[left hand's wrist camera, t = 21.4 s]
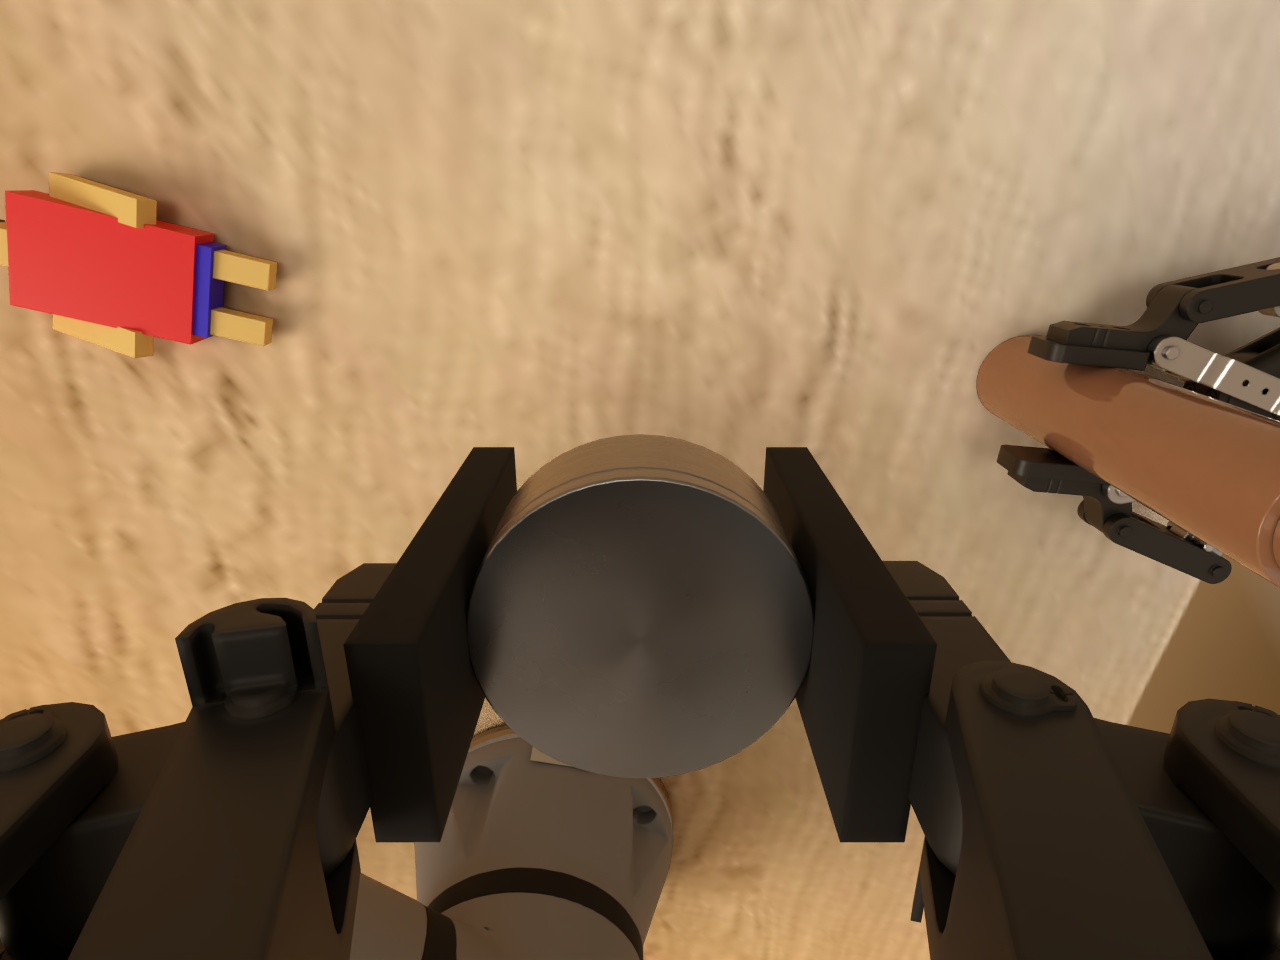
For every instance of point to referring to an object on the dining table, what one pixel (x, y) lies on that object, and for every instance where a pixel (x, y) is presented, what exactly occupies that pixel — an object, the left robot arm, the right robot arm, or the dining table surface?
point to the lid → (640, 610)
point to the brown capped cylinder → (1151, 445)
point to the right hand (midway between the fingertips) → (1024, 406)
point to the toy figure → (123, 269)
